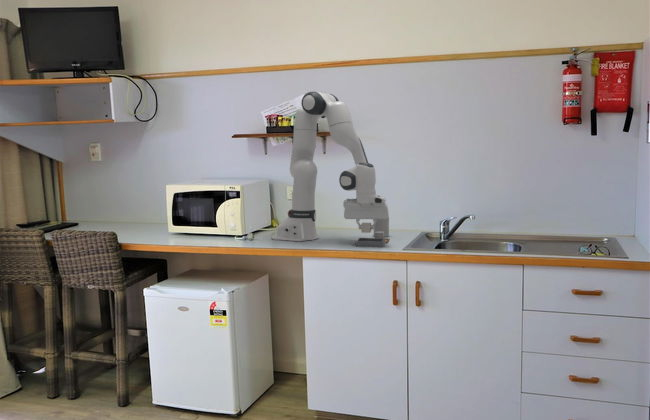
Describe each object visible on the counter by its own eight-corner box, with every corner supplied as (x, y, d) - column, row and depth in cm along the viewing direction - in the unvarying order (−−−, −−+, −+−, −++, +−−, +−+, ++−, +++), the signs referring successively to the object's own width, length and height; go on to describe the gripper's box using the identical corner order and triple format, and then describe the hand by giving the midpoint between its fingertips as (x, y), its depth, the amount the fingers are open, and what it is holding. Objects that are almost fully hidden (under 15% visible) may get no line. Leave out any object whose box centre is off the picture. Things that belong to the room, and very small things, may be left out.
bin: (356, 247, 280) (356, 240, 280) (359, 244, 289) (359, 237, 289) (382, 248, 278) (382, 241, 278) (384, 245, 287) (384, 238, 286)
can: (387, 238, 304) (388, 214, 303) (372, 238, 305) (372, 214, 304) (389, 236, 311) (389, 212, 310) (374, 235, 313) (374, 212, 311)
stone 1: (361, 232, 282) (361, 223, 281) (362, 231, 286) (362, 222, 285) (370, 232, 281) (370, 223, 280) (371, 231, 285) (371, 222, 284)
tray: (357, 243, 291) (357, 241, 291) (360, 239, 301) (360, 237, 301) (387, 244, 288) (387, 242, 288) (389, 240, 299) (389, 238, 298)
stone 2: (374, 241, 295) (374, 232, 294) (375, 239, 298) (375, 231, 298) (383, 241, 294) (383, 232, 293) (384, 239, 298) (384, 231, 297)
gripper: (342, 199, 280) (342, 229, 282) (387, 199, 276) (387, 230, 278) (344, 197, 286) (344, 227, 288) (388, 198, 283) (389, 228, 284)
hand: (366, 228), depth 283 cm, fingers closed on stone 1, 4 cm apart
